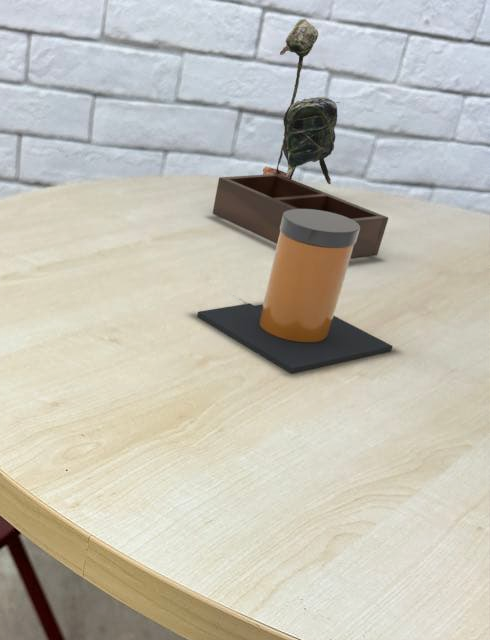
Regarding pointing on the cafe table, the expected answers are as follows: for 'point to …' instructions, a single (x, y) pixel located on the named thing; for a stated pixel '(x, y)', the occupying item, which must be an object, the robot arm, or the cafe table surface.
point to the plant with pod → (306, 114)
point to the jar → (307, 274)
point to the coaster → (294, 355)
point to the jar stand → (290, 208)
